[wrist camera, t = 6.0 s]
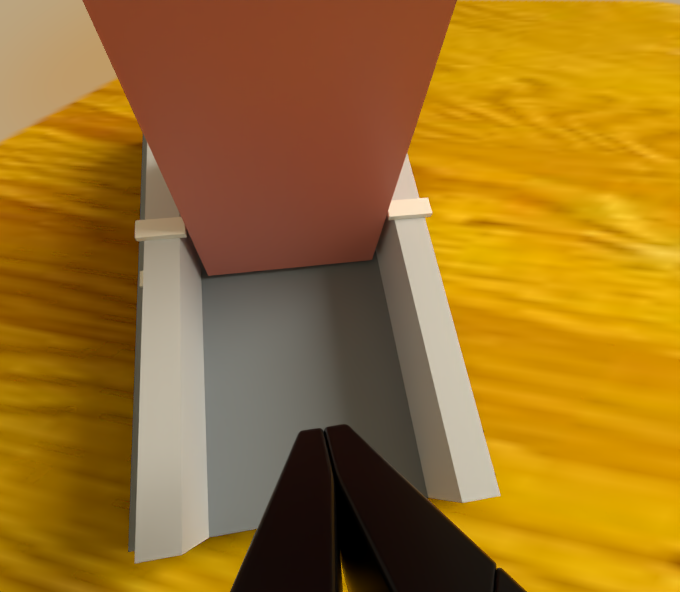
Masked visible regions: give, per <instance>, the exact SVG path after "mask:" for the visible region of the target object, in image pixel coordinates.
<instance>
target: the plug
mask: <svg viewBox="0 0 680 592" xmlns="http://www.w3.org/2000/svg"><path fill="white" fill-rule="evenodd" d="M456 1H457V0H83V2H84V5H85V7H86V9H87V11H88V13H89V16H90V18H91V20H92V22H93V24H94V27H95V29H96V31H97V33H98V35H99V37H100V40H101V42H102V44H103V46H104V49H105V51H106V53H107V55H108V57H109V59H110V62H111V64H112V66H113V68H114V70H115V72H116V75H117V77H118V79H119V81H120V84H121V86H122V88H123V90H124V92H125V95H126V97H127V99H128V101H129V103H130V105H131V108H132V110H133V112H134V114H135V116H136V119H137V121H138V123H139V125H140V127H141V130H142V132H143V134H144V136H145V138H146V141H147V143H148V145H149V147H150V149H151V152H152V154H153V156H154V158H155V160H156V162H157V165H158V167H159V169H160V171H161V173H162V176H163V178H164V180H165V182H166V184H167V187H168V189H169V191H170V193H171V195H172V198H173V200H174V202H175V204H176V206H177V208H178V211H179V213H180V215H181V217H182V219H183V222H184V224H185V226H186V228H187V230H188V233H189V235H190V237H191V239H192V241H193V244H194V246H195V248H196V250H197V252H198V254H199V257H200V259H201V261H202V263H203V265H204V268H205V270H206V272H207V274H208V276H212V275H223V274H233V273H243V272H253V271H264V270H274V269H284V268H295V267H305V266H315V265H325V264H336V263H346V262H356V261H367V260H372V258H373V255H374V252H375V249H376V246H377V243H378V240H379V237H380V234H381V231H382V228H383V225H384V222H385V219H386V216H387V212H388V209H389V206H390V203H391V200H392V197H393V194H394V191H395V188H396V185H397V182H398V179H399V176H400V173H401V170H402V167H403V163H404V160H405V157H406V154H407V151H408V148H409V145H410V142H411V139H412V136H413V133H414V130H415V127H416V124H417V121H418V118H419V114H420V111H421V108H422V105H423V102H424V99H425V96H426V93H427V90H428V87H429V84H430V81H431V78H432V75H433V72H434V69H435V65H436V62H437V59H438V56H439V53H440V50H441V47H442V44H443V41H444V38H445V35H446V32H447V29H448V26H449V23H450V20H451V16H452V13H453V10H454V7H455V4H456Z"/></svg>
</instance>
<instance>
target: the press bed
mask: <svg viewBox="0 0 680 592" xmlns="http://www.w3.org/2000/svg"><path fill="white" fill-rule="evenodd" d="M431 215H432V210H431V207H430V203H429V200H428V198H419V195H418V191H417V188H416V184H415V180H414V177H413V173H412V169H411V166H410V162H409V158H408V155H407V154H406V157H405V160H404V163H403V167H402V170H401V173H400V176H399V179H398V182H397V185H396V188H395V191H394V194H393V197H392V200H391V203H390V206H389V209H388V212H387V216H386V219H385V222H384V225H383V228H382V231H381V234H380V237H379V240H378V243H377V246H376V249H375V252H374V255H373V258H372V260H367V261H356V262H346V263H336V264H325V265H315V266H305V267H295V268H284V269H274V270H264V271H253V272H243V273H233V274H223V275H212V276H208V274H207V272H206V270H205V268H204V265H203V263H202V261H201V259H200V257H199V254H198V252H197V250H196V248H195V246H194V244H193V241H192V239H191V237H190V235H189V233H188V230H187V228H186V226H185V224H184V222H183V219H182V217H181V215H180V213H179V211H178V208H177V206H176V204H175V202H174V200H173V198H172V195H171V193H170V191H169V189H168V187H167V184H166V182H165V180H164V178H163V176H162V173H161V171H160V169H159V167H158V165H157V162H156V160H155V158H154V156H153V154H152V152H151V149H150V147H149V145H148V143H147V141H146V138H145V136H144V134H143V147H142V176H141V204H140V220H135V239H136V241H139V261H138V290H137V318H136V347H135V375H134V403H133V432H132V460H131V489H130V517H129V546H128V552H131V551H135V563H140V562H146V561H151V560H156V559H162V558H167V557H173V556H178V555H182V554H184V553H186V552H187V551H189V550H190V549H192V548H193V547H195V546H196V545H198V544H200V543H201V542H203V541H204V540H206V539H207V538H209V537H214V536H220V535H225V534H231V533H236V532H242V531H247V530H253V529H257V528H258V525H259V523H260V521H261V518H262V516H263V514H264V511H265V509H266V507H267V504H268V502H269V500H270V497H271V495H272V493H273V490H274V488H275V486H276V483H277V481H278V479H279V476H280V474H281V472H282V469H283V467H284V465H285V462H286V460H287V458H288V455H289V453H290V451H291V449H292V446H293V444H294V442H295V439H296V437H297V435H298V433H299V432H300V431H302V430H308V429H314V428H321V429H322V430H323V431H324V429H325V428H326V427H328V426H334V425H340V424H347V425H349V426H350V427H351V428H352V429H353V430H354V431H355V432H356V433H357V434H359V435H360V436H361V437H362V438H363V439H364V440H365V441H366V442H367V443H368V444H369V445H370V446H371V447H372V448H373V449H375V450H376V451H377V452H378V453H379V454H380V455H381V456H382V457H383V458H384V459H385V460H386V461H387V462H388V463H390V464H391V465H392V466H393V467H394V468H395V469H396V470H397V471H398V472H399V473H400V474H401V475H402V476H403V477H404V478H406V479H407V480H408V481H409V482H410V483H411V484H412V485H413V486H414V487H415V488H416V489H417V490H418V491H419V492H420V493H422V494H423V495H424V496H425V497H426V498H434V499H441V500H447V501H454V502H461V503H464V502H469V501H475V500H480V499H486V498H491V497H496V496H501V495H500V492H499V488H498V484H497V481H496V477H495V473H494V470H493V466H492V462H491V459H490V455H489V451H488V448H487V444H486V440H485V437H484V433H483V429H482V426H481V422H480V418H479V415H478V411H477V407H476V404H475V400H474V396H473V393H472V389H471V385H470V382H469V378H468V374H467V371H466V367H465V363H464V360H463V356H462V352H461V349H460V345H459V341H458V338H457V334H456V330H455V327H454V323H453V320H452V316H451V312H450V309H449V305H448V301H447V298H446V294H445V290H444V287H443V283H442V279H441V276H440V272H439V268H438V265H437V261H436V257H435V254H434V250H433V246H432V243H431V239H430V235H429V232H428V228H427V224H426V221H425V217H431Z"/></svg>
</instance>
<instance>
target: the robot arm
mask: <svg viewBox="0 0 680 592" xmlns="http://www.w3.org/2000/svg"><path fill="white" fill-rule="evenodd" d="M341 563H342V569H343V573H344V577H345V581H346V585H347V588H348V592H527V591H525V590H524V589H523V588H522V587H521V586H520V585H519V584H518V583H517V582H516V581H515V580H514V579H513V578H511V577H510V576H509V575H508V574H507V573H506V572H505V571H504V570H503V569H502V568H497V570H496V563H495V562H494V561H493V560H492V559H491V558H490V557H489V556H488V555H487V554H486V553H485V552H483V551H482V550H481V549H480V548H479V547H478V546H477V545H476V544H475V543H474V542H473V541H472V540H471V539H470V538H469V537H467V536H466V535H465V534H464V533H463V532H462V531H461V530H460V529H459V528H458V527H457V526H456V525H455V524H454V523H453V522H451V521H450V520H449V519H448V518H447V517H446V516H445V515H444V514H443V513H442V512H441V511H440V510H439V509H438V508H436V507H435V506H434V505H433V504H432V503H431V502H430V501H429V500H428V499H427V498H426V497H425V496H424V495H423V494H422V493H420V492H419V491H418V490H417V489H416V488H415V487H414V486H413V485H412V484H411V483H410V482H409V481H408V480H407V479H406V478H404V477H403V476H402V475H401V474H400V473H399V472H398V471H397V470H396V469H395V468H394V467H393V466H392V465H391V464H390V463H388V462H387V461H386V460H385V459H384V458H383V457H382V456H381V455H380V454H379V453H378V452H377V451H376V450H375V449H373V448H372V447H371V446H370V445H369V444H368V443H367V442H366V441H365V440H364V439H363V438H362V437H361V436H360V435H359V434H357V433H356V432H355V431H354V430H353V429H352V428H351V427H350V426H349V425H347V424H340V425H334V426H328V427H326V428H325V429H324V431H323V430H322V429H321V428H314V429H308V430H302V431H300V432H299V433H298V435H297V437H296V439H295V442H294V444H293V446H292V449H291V451H290V453H289V455H288V458H287V460H286V462H285V465H284V467H283V469H282V472H281V474H280V476H279V479H278V481H277V483H276V486H275V488H274V490H273V493H272V495H271V497H270V500H269V502H268V504H267V507H266V509H265V511H264V514H263V516H262V518H261V521H260V523H259V525H258V528H257V530H256V532H255V535H254V537H253V539H252V542H251V544H250V546H249V549H248V551H247V553H246V556H245V558H244V560H243V563H242V565H241V567H240V570H239V572H238V574H237V577H236V579H235V581H234V584H233V586H232V588H231V591H230V592H343V587H342V572H341Z"/></svg>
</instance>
